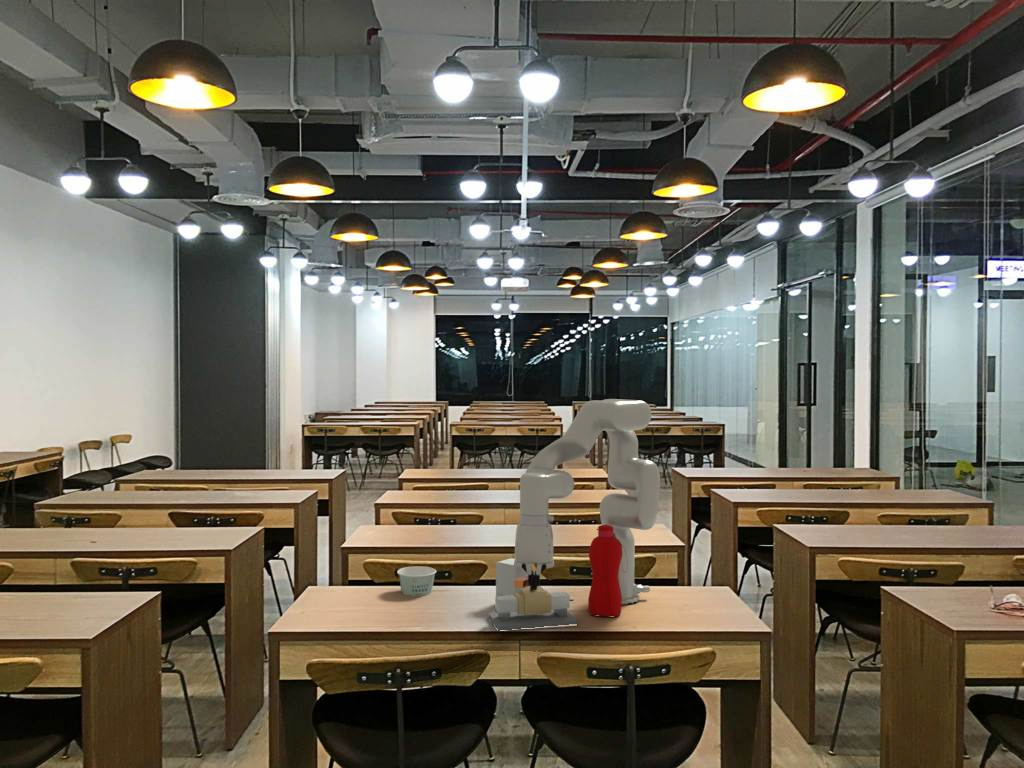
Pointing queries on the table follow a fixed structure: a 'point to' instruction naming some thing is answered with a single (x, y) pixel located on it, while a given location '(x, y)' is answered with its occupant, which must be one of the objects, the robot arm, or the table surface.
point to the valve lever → (521, 582)
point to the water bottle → (605, 573)
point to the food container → (416, 580)
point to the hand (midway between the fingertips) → (534, 588)
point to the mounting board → (531, 620)
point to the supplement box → (508, 577)
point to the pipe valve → (532, 603)
